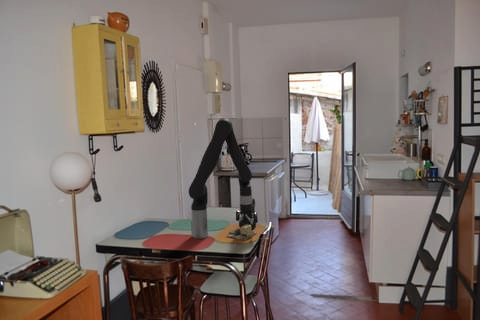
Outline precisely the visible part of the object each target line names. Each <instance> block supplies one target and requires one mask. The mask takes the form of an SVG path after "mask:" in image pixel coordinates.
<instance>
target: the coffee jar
mask: <svg viewBox="0 0 480 320" xmlns="http://www.w3.org/2000/svg"><path fill="white" fill-rule="evenodd" d="M252 207H253V210H252V213H256V212H255V211H256V210H255V207H256V201H255V198H252ZM252 217H253V215H252ZM250 219H251V218H250ZM242 224H243V226H244V225H247V224H248V225H251V222H250V221H249V220H247V219H243V220H242ZM256 226H257V223H255V227H256Z"/></svg>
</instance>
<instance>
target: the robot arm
mask: <svg viewBox="0 0 480 320" xmlns="http://www.w3.org/2000/svg"><path fill="white" fill-rule="evenodd" d="M224 144H226V147H227V149H228V152H229V156H230V158H231V162H232V163H233V166H234V167H235V168H236V170H237V172H238V174H237V178H238V185H239V210H236V211H235V221H237V223H238V227H239V228H240V227H242V226H243V224H242V220H243V219H247V220H249V221H250V222H251V230H253V231H254V230H255V229H256V226H255V223H256V224H258V223H259V221H258V220H259V219H258V213H257V212H255V213H252V210H253V207H252V199H253V194H252V191H253V190H252V186H251V180H252V178H253V174H252V171H251V169H250V167H249V165H248V164H247V161H246V159H245V156H244V154H243V152H242V149H241V148H240V146H239V143H238V141H237V138H236V135H235V131H234V127H233V123H232V121H231V120H230V119H229V118H227V117H223V118H219V120H218V121H216V124H215V127H214V131H213V134H212V137H211V140H210V142H209V143H208V145H207V147H206V149H205V150H204V153H203V156H202V159H201V160H200V164H199V166H198V168H197V172H196V174H195V176H194V178H193V180H192V182H191V183H190V186H189V188H188V195H189V196H188V197H190V199H192V203H191V205H190V206H191V207H190V208H191V221H190V231H191V232H190V233H191V237H192V238H193V239H199V240H200V239H205V238H207V237H209V228H208V227H209V226H208V225H209V224H208V211H207V210H208V209H207V206H208V202H209V201H208V198H209V197H208V196H209V195H208V187H207V184H206V183H207V181H208V179H209V177H210V176H211V175H212V173H213V172H214V171H215V169H216V167H217V165H218V162H219V160H220V158H221V153H222V150H223V147H224ZM252 215H253V217H252ZM250 218H251V219H250Z"/></svg>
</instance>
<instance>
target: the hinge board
mask: <svg viewBox="0 0 480 320" xmlns="http://www.w3.org/2000/svg"><path fill="white" fill-rule="evenodd" d="M253 235H254V236H256V235H257V231H254V230H253V234H251V235H249V236H246V235H241V232H240V228H236V229H233V230H231V231H229V232H228V234H226V237H227V238H231V237H232V239H236V238H237V239H238V240H242V239H244V240H243V241H245V239H246V240H247V238H248V239H249V237H250V238H252V237H253ZM251 236H252V237H251ZM237 239H236V240H237Z"/></svg>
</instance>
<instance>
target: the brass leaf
mask: <svg viewBox="0 0 480 320" xmlns="http://www.w3.org/2000/svg"><path fill="white" fill-rule="evenodd" d="M239 229H240V232H241V235H246V236H249V235H251V234H253V231H254V230H251V225H248V224H247V225H244V226H242V227H239Z"/></svg>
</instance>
